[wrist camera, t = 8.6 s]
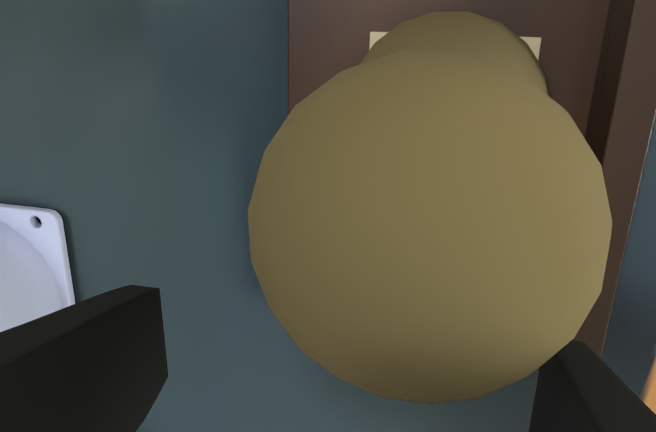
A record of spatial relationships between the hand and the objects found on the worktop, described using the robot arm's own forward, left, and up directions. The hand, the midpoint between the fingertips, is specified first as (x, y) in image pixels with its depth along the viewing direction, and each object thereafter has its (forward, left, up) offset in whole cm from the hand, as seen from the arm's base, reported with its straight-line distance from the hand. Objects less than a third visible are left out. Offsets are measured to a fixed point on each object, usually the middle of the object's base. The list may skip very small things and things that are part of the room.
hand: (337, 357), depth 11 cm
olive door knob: (+1, +3, -9) cm, 9 cm away
